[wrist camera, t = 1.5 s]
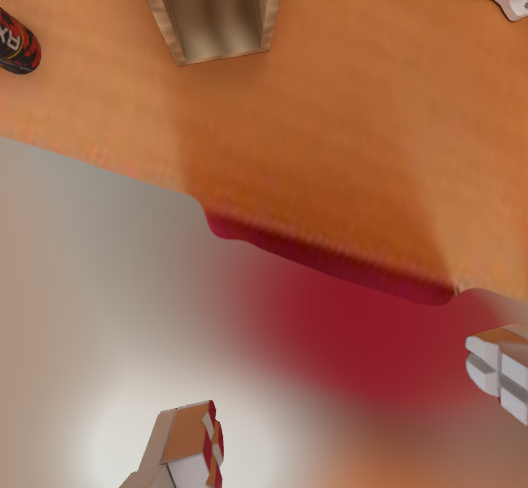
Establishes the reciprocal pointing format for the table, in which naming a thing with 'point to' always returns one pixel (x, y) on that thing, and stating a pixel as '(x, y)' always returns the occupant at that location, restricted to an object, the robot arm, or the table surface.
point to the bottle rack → (214, 27)
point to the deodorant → (17, 46)
